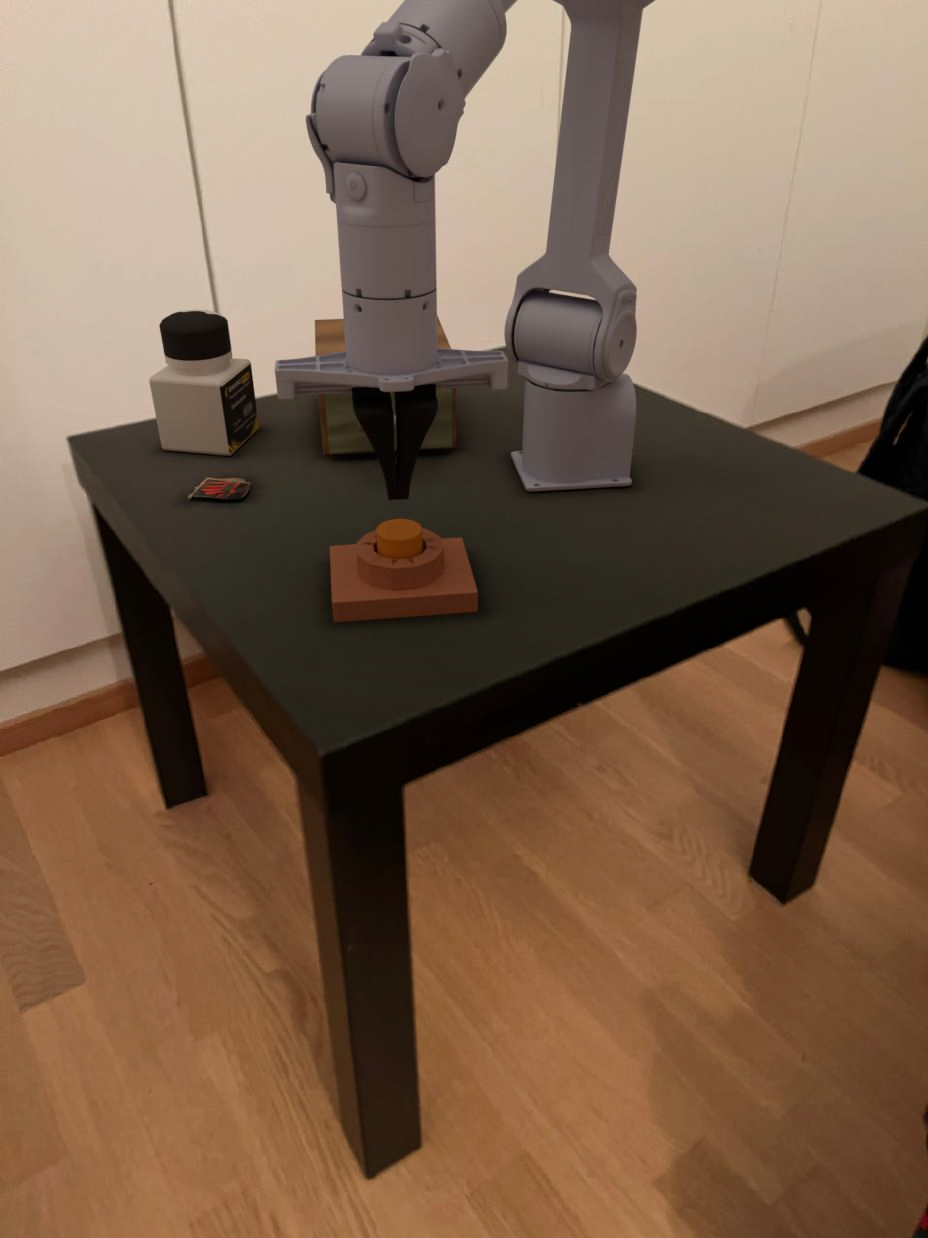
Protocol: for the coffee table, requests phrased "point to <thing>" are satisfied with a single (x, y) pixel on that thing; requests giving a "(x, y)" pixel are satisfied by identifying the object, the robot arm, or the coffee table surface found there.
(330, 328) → the cabinet
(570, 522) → the coffee table surface
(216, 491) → the matchbox
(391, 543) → the button
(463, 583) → the button box
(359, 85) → the robot arm
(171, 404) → the medicine bottle
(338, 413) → the drawer
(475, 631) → the coffee table surface
